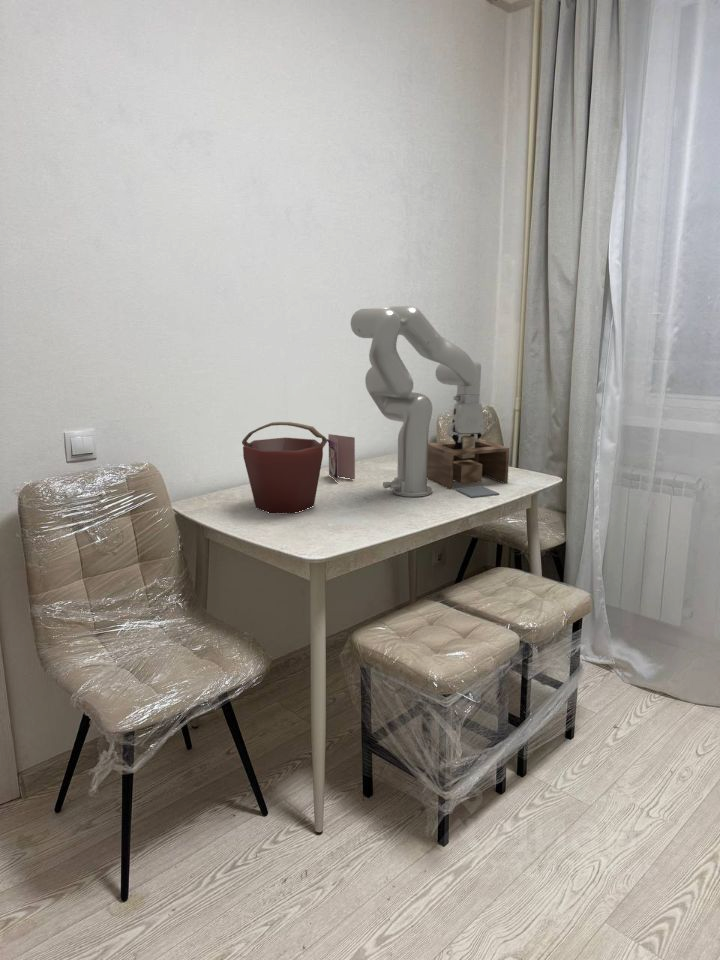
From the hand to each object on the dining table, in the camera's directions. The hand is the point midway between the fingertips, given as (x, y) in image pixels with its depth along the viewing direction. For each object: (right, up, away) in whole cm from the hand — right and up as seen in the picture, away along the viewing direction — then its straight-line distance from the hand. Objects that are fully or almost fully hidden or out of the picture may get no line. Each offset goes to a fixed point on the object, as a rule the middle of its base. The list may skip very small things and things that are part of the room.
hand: (465, 452), depth 225 cm
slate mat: (+2, -13, -14) cm, 19 cm away
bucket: (-58, -17, -29) cm, 67 cm away
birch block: (0, -1, 0) cm, 1 cm away
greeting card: (-42, -9, +4) cm, 43 cm away
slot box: (0, -9, +3) cm, 10 cm away
